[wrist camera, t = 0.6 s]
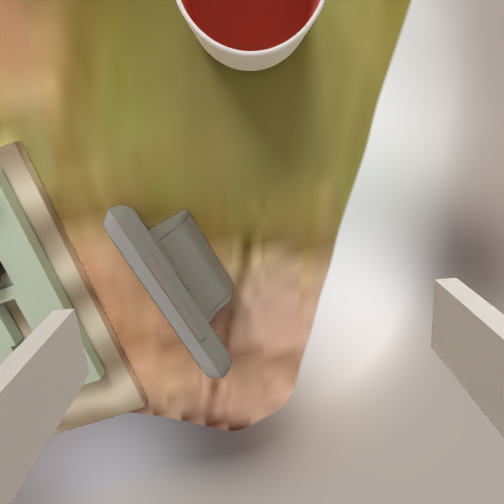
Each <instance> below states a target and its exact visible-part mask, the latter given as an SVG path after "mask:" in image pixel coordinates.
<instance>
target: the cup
mask: <svg viewBox="0 0 504 504" xmlns="http://www.w3.org/2000/svg"><path fill="white" fill-rule="evenodd" d="M176 3H177V5H178V7H179V9H180V11H181V13H182V15H183V16H184V18H185V20H186V21H187V23H188V24H189V26H190V28H191V29H192V31H193V32H194V34H195V36H196V37H197V39H198V40H199V42H200V44H201V45H202V46H203V48H204V49H205V50H206V51H207V52H208V53H209V54H210V55H211V56H212V57H213V58H215V59H216V60H217V61H219V62H220V63H222V64H224V65H226V66H228V67H231V68H234V69H237V70H243V71H257V70H263V69H266V68H269V67H272V66H274V65H276V64H278V63H280V62H281V61H283V60H284V59H286V58H287V57H288V56H289V55H290V54H291V53H292V52H293V51H294V50H295V49H296V48H297V46H298V45H299V44H300V42H301V41H302V39H303V38H304V36H305V35H306V33H307V32H308V30H309V29H310V27H311V26H312V24H313V23H314V21H315V20H316V18H317V17H318V15H319V13H320V12H321V10H322V8H323V5H324V3H325V0H176Z"/></svg>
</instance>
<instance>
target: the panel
mask: <svg viewBox="0 0 504 504" xmlns="http://www.w3.org/2000/svg"><path fill="white" fill-rule="evenodd" d="M0 261H1V263H2V265H3V266H4V268H5V270H6V272H7V274H8V276H9V277H10V279H11V281H12V284H9V285H6V286H3V287H0V364H1V363H2V362H3V361H4V360H5V359H6V358H7V357H8V356H9V355H10V354H11V353H12V352H13V351H14V350H15V349H16V348H17V347H18V346H19V345H20V343H19V342H20V341H21V340H22V339H23V337H22V335H21V333H20V331H19V329H18V328H17V326H16V324H15V322H14V321H13V319H12V317H11V315H10V314H9V312H8V310H7V308H6V307H5V305H4V302H6V301H9V300H12V299H15V301H16V302H17V304H18V306H19V308H20V310H21V311H22V313H23V315H24V317H25V319H26V320H27V322H28V324H29V326H30V328H31V329H32V331H34V330H35V329H36V328H37V327H38V326H39V325H40V324H41V323H42V322H43V321H44V320H45V319H46V318H47V317H48V316H49V315H50V314H51V313H52V312H53V311H54V310H64V309H73V308H72V306H71V304H70V302H69V300H68V298H67V296H66V294H65V292H64V290H63V288H62V286H61V284H60V282H59V280H58V278H57V276H56V274H55V273H54V271H53V269H52V267H51V265H50V263H49V261H48V259H47V257H46V255H45V253H44V251H43V249H42V247H41V245H40V243H39V241H38V239H37V237H36V236H35V234H34V232H33V230H32V228H31V226H30V224H29V222H28V220H27V218H26V216H25V214H24V212H23V210H22V208H21V206H20V204H19V202H18V201H17V199H16V197H15V195H14V193H13V191H12V189H11V187H10V185H9V183H8V181H7V179H6V177H5V175H4V173H3V171H2V169H1V167H0ZM76 317H77V315H76ZM77 321H78V326H79V330H80V334H81V338H82V343H83V347H84V351H85V356H86V360H87V364H88V368H89V373H90V374H89V376H88V377H87V379H86V380H85V382H84V384H83V385H85V384H88V383H91V382H94V381H98V380H101V378H102V377H103V375H104V373H105V370H104V368H103V366H102V364H101V362H100V360H99V358H98V356H97V354H96V352H95V350H94V348H93V347H92V345H91V343H90V341H89V339H88V337H87V335H86V333H85V331H84V329H83V327H82V325H81V323H80V321H79V319H78V317H77Z"/></svg>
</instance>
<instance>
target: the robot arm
mask: <svg viewBox="0 0 504 504" xmlns="http://www.w3.org/2000/svg"><path fill="white" fill-rule="evenodd" d="M434 288H435V289H434V307H433V325H432V341H431V347H432V348H433V349H434V351H435V352H436V353H437V354H438V356H439V357H440V358H441V359H442V361H443V362H444V363H445V365H446V366H447V367H448V368H449V370H450V371H451V372H452V373H453V374H454V376H455V377H456V378H457V380H458V381H459V382H460V383H461V385H462V386H463V387H464V388H465V390H466V391H467V392H468V393H469V394H470V396H471V397H472V398H473V400H474V401H475V402H476V403H477V405H478V406H479V407H480V408H481V410H482V411H483V412H484V414H485V415H486V416H487V417H488V418H489V420H490V421H491V422H492V423H493V425H494V426H495V427H496V429H497V430H498V431H499V432H500V434H501V435H502V436H503V437H504V315H503V314H502V313H501V312H499V311H498V310H497V309H496V308H494V307H493V306H492V305H491V304H489V303H488V302H487V301H485V300H484V299H483V298H482V297H480V296H479V295H478V294H476V293H475V292H474V291H473V290H471V289H470V288H469V287H467V286H466V285H465V284H463V283H462V282H461V281H460V280H458V279H457V278H449V279H436V280H435V287H434ZM89 374H90V373H89V368H88V364H87V360H86V356H85V351H84V347H83V343H82V338H81V334H80V330H79V326H78V321H77V317H76V313H75V309H64V310H54V311H53V312H52V313H51V314H50V315H49V316H48V317H47V318H46V319H45V320H44V321H43V322H42V323H41V324H40V325H39V326H38V327H37V328H36V329H35V330H34V331H33V332H32V333H31V334H30V335H29V336H28V337H27V338H26V339H25V340H24V341H23V342H22V343H21V344H20V345H19V346H18V347H17V348H16V349H15V350H14V351H13V352H12V353H11V354H10V355H9V356H8V357H7V358H6V359H5V360H4V361H3V362H2V363H1V364H0V504H11V502H12V501H13V499H14V498H15V496H16V494H17V493H18V491H19V489H20V488H21V486H22V484H23V483H24V481H25V479H26V477H27V476H28V474H29V473H30V471H31V469H32V468H33V466H34V465H35V463H36V461H37V459H38V458H39V456H40V455H41V453H42V451H43V450H44V448H45V446H46V445H47V443H48V441H49V440H50V438H51V436H52V435H53V433H54V432H55V430H56V428H57V427H58V425H59V423H60V422H61V420H62V418H63V417H64V415H65V413H66V412H67V410H68V409H69V407H70V405H71V404H72V402H73V400H74V399H75V397H76V395H77V394H78V392H79V390H80V389H81V387H82V385H83V384H84V382H85V380H86V379H87V377H88V376H89Z"/></svg>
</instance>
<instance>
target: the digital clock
mask: <svg viewBox="0 0 504 504" xmlns="http://www.w3.org/2000/svg"><path fill="white" fill-rule="evenodd" d="M103 226H104V228H105V229H106V231H107V232H108V234H109V237H110V238H111V239H112V241H113V242H114V244H115V245H116V247H117V248H118V250H119V251H120V252H121V254H122V255H123V257H124V258H125V260H126V261H127V263H128V264H129V266H130V267H131V268H132V270H133V271H134V273H135V274H136V276H137V277H138V279H139V280H140V281H141V283H142V284H143V286H144V287H145V289H146V290H147V292H148V293H149V294H150V296H151V297H152V299H153V300H154V302H155V303H156V305H157V306H158V308H159V309H160V310H161V312H162V313H163V315H164V316H165V318H166V319H167V321H168V322H169V323H170V325H171V326H172V328H173V329H174V331H175V332H176V334H177V335H178V336H179V338H180V339H181V341H182V342H183V344H184V345H185V347H186V348H187V349H188V351H189V352H190V354H191V355H192V357H193V358H194V360H195V361H196V363H197V364H198V365H199V367H200V368H201V369H202V370H203V372H204V373H205V374H206V376H207V377H211V378H223V377H224V376H225V375H226V374H227V373H228V371H229V369H230V366H231V362H232V358H231V356H230V354H229V353H228V351H227V350H226V348H225V347H224V345H223V344H222V342H221V341H222V340H223V338H222V337H221V335H220V334H219V335H216V333H215V332H214V330H213V329H212V327H211V326H210V322H211V321H212V319H213V318H214V317H215V315H216V314H217V313H218V312H219V311H220V309H221V308H222V307H224V306H225V305H226V304H227V303H229V302H230V300H231V298H232V290H233V282H232V280H231V279H230V277H229V275H228V274H227V272H226V271H225V269H224V267H223V266H222V264H221V263H220V261H219V259H218V258H217V256H216V254H215V253H214V251H213V250H212V248H211V246H210V245H209V243H208V242H207V240H206V238H205V237H204V235H203V233H202V232H201V230H200V229H199V227H198V225H197V224H196V222H195V221H194V219H193V217H192V216H191V214H190V213H189V211H188V209H184V210H182V211H181V212H179V213H177V214H175V215H174V216H172V217H170V218H168V219H167V220H165V221H163V222H161V223H160V224H158V225H156V226H154V227H153V228H151V229H149V230H147V228H146V227H145V225H144V224H143V222H142V221H141V219H140V218H139V216H138V215H137V213H136V212H135V210H134V209H133V208H131V207H129V206H125V205H116V206H113V207H111V208H109V210H108V212H107V215H106V217H105V220H104V223H103ZM152 256H153V257H152ZM154 259H155V260H154Z"/></svg>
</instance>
